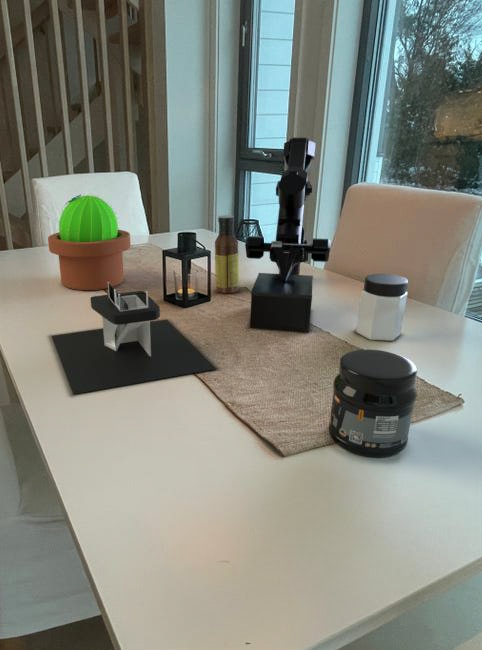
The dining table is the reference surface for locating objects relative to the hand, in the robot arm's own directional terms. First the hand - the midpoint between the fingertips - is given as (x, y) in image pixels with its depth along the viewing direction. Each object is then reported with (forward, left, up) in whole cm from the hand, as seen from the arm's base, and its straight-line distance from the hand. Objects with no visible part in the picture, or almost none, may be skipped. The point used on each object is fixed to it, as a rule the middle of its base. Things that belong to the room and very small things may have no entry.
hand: (283, 281), depth 114 cm
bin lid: (0, 0, -1) cm, 1 cm away
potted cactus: (-1, -58, -9) cm, 59 cm away
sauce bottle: (-13, -21, -9) cm, 26 cm away
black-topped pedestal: (+33, -19, -9) cm, 39 cm away
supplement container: (+40, +29, -9) cm, 50 cm away
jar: (-2, +21, -9) cm, 23 cm away
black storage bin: (0, 0, -9) cm, 9 cm away
